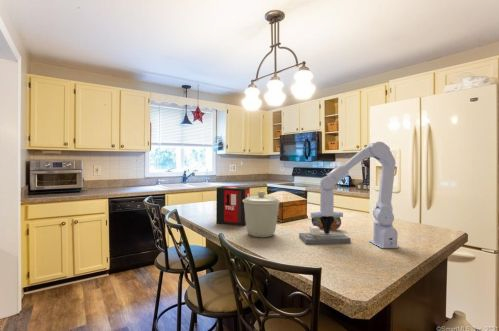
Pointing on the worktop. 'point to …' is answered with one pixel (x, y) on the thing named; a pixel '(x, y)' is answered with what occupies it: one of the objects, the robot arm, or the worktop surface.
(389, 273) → the worktop surface
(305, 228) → the worktop surface
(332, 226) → the tin
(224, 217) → the cleaning product box
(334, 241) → the fader console
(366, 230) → the worktop surface
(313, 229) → the fader tab
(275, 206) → the canister
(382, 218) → the robot arm
